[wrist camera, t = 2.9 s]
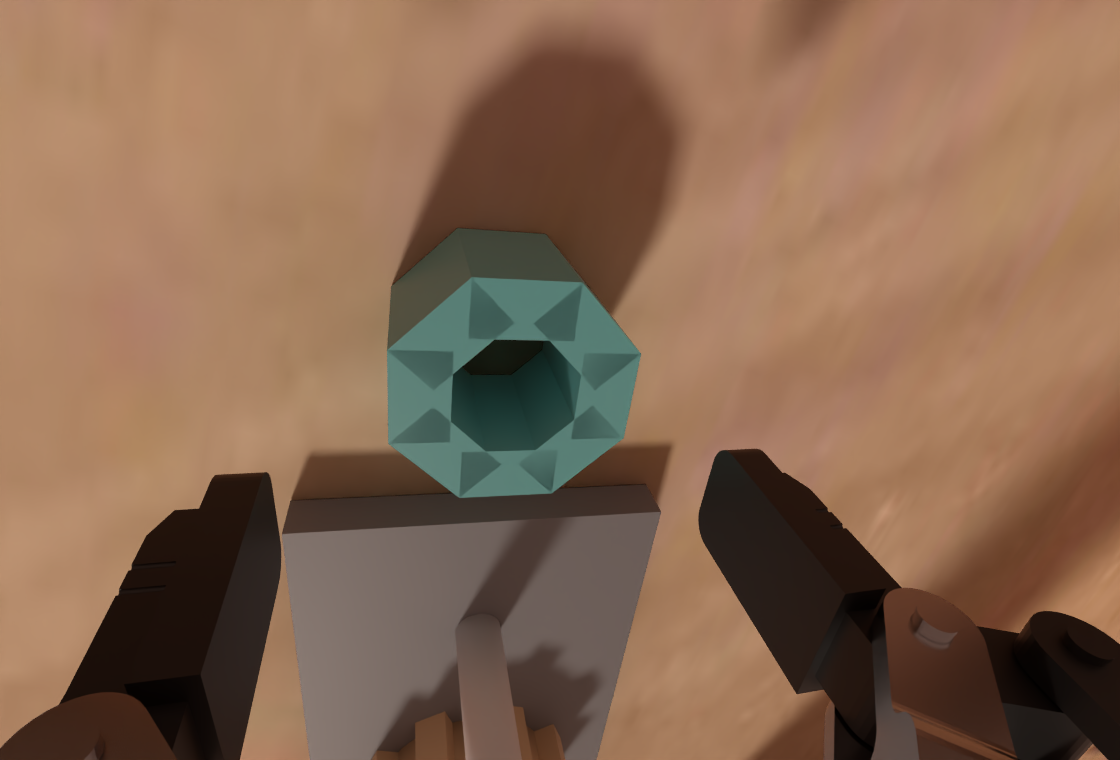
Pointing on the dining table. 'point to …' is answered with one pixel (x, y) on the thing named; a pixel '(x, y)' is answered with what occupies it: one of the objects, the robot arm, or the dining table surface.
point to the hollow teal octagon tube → (504, 400)
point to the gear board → (464, 620)
